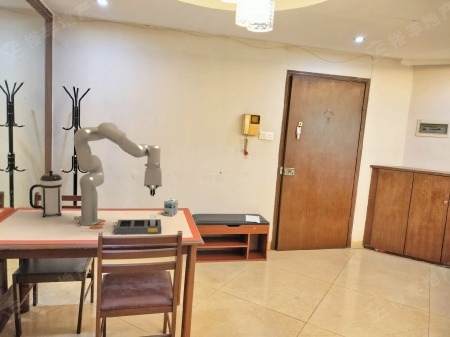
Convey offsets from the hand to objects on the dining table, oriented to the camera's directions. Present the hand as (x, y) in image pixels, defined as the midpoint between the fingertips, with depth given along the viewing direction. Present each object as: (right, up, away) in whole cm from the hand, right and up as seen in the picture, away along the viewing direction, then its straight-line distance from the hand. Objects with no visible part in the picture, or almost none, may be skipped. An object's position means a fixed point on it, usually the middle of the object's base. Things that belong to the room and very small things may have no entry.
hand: (152, 195), depth 200 cm
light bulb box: (+5, -17, +37) cm, 41 cm away
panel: (0, -20, +2) cm, 20 cm away
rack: (-8, -21, +1) cm, 22 cm away
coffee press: (-73, -15, +19) cm, 77 cm away
